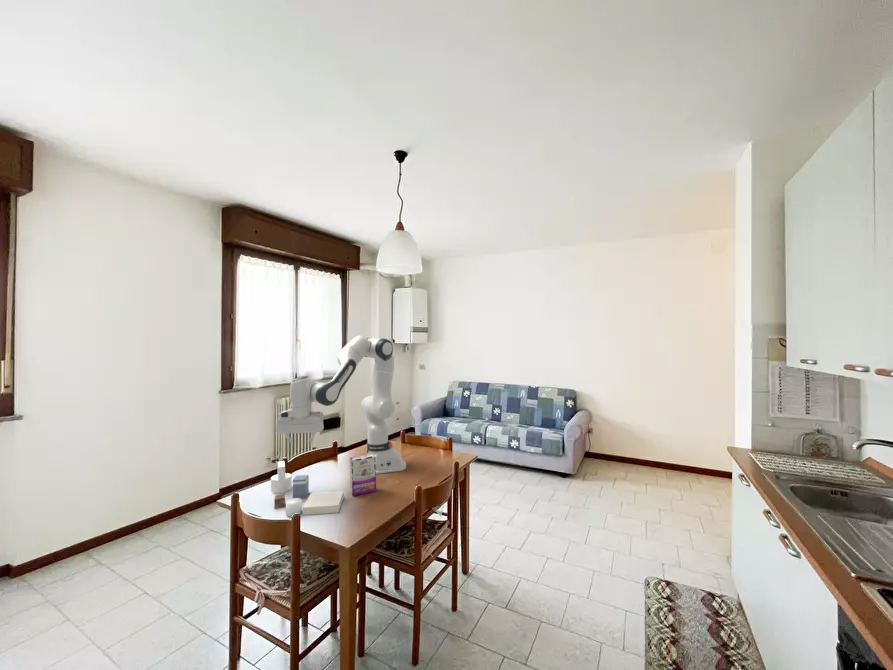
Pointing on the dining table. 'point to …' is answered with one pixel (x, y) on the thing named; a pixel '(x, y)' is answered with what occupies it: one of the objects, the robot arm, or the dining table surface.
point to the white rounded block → (293, 506)
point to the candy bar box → (362, 474)
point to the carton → (300, 486)
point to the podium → (323, 503)
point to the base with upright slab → (281, 480)
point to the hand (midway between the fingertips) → (300, 442)
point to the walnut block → (279, 501)
